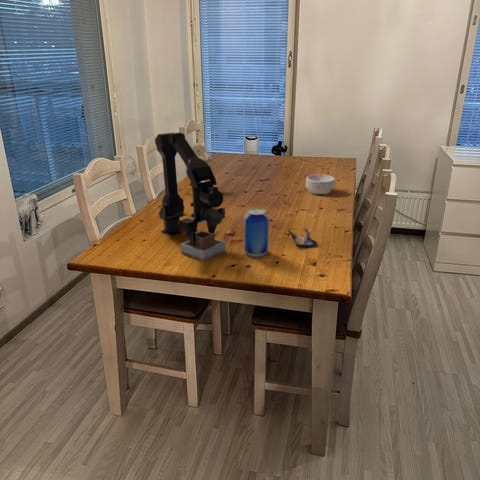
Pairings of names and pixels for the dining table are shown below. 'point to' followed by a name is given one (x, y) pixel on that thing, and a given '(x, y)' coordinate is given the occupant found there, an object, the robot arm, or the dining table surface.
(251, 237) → the beer can
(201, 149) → the flower in vase
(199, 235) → the walnut crate
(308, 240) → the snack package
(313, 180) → the paper bowls
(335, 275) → the dining table surface
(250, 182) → the dining table surface
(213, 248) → the grey crate
